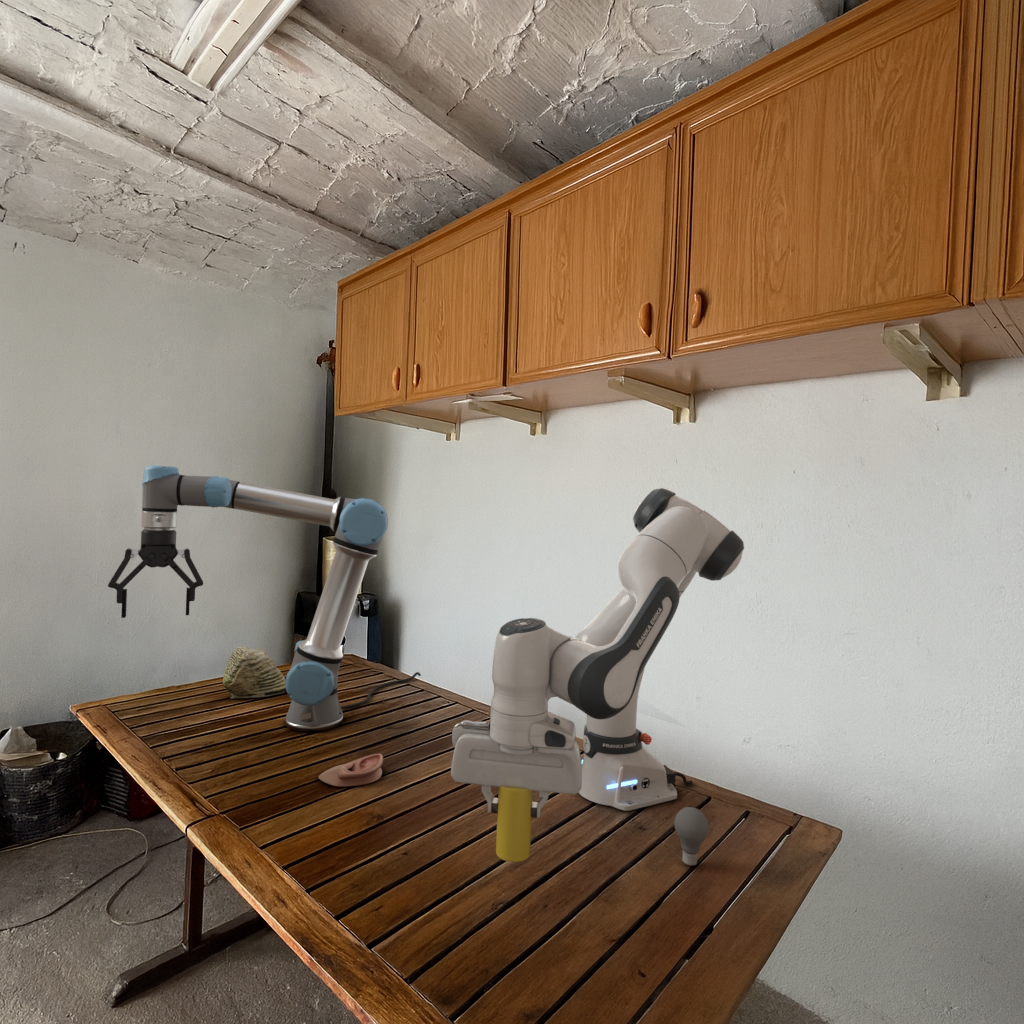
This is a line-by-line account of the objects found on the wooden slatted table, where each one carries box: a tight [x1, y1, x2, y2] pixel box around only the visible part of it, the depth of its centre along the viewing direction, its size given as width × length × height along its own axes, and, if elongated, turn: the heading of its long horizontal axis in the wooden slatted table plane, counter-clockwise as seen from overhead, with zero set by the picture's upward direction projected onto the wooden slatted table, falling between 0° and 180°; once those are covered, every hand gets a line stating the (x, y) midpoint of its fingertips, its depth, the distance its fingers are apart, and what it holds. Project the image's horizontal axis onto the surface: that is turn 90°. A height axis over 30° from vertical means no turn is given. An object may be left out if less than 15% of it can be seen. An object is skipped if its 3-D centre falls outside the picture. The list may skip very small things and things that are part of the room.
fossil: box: [222, 646, 286, 699], centre depth 198 cm, size 9×18×15 cm, turn 132°
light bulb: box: [673, 806, 710, 866], centre depth 114 cm, size 6×6×10 cm
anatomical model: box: [318, 753, 384, 787], centre depth 144 cm, size 13×4×12 cm
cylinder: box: [495, 786, 534, 863], centre depth 98 cm, size 5×5×11 cm
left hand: (156, 615), depth 155 cm, fingers open, 13 cm apart
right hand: (514, 813), depth 98 cm, fingers closed on cylinder, 5 cm apart
